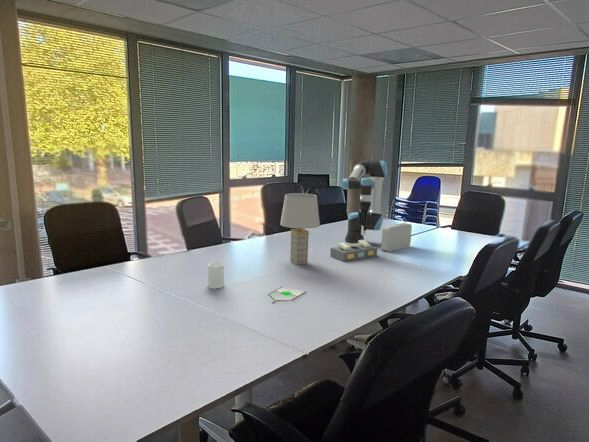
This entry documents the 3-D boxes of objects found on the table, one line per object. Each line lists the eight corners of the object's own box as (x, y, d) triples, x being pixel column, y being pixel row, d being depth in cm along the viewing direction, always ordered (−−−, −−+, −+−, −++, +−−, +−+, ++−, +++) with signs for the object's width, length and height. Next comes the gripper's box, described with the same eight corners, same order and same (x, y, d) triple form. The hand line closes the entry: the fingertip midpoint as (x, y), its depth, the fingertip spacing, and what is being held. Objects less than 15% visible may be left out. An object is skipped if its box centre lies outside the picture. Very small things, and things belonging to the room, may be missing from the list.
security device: (256, 301, 200) (256, 297, 199) (280, 288, 219) (280, 284, 219) (286, 309, 192) (286, 305, 191) (308, 295, 211) (308, 291, 210)
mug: (218, 280, 226) (218, 259, 224) (231, 283, 223) (231, 262, 220) (204, 287, 216) (204, 265, 214) (217, 290, 212) (217, 267, 210)
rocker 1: (337, 245, 280) (338, 242, 279) (342, 244, 282) (343, 242, 281) (345, 250, 274) (345, 248, 273) (350, 249, 276) (350, 247, 275)
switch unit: (330, 256, 282) (330, 246, 281) (363, 251, 298) (363, 242, 297) (343, 261, 270) (344, 251, 269) (377, 256, 286) (377, 246, 285)
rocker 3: (358, 242, 289) (358, 240, 289) (362, 241, 292) (363, 239, 291) (365, 247, 283) (365, 245, 283) (370, 246, 286) (370, 244, 285)
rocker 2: (348, 246, 285) (348, 244, 285) (353, 245, 287) (352, 243, 287) (355, 246, 278) (355, 243, 278) (360, 245, 280) (360, 243, 280)
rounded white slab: (402, 244, 321) (403, 222, 318) (410, 246, 315) (412, 223, 312) (378, 249, 303) (379, 225, 300) (386, 252, 298) (388, 227, 294)
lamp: (290, 270, 249) (292, 198, 241) (273, 259, 271) (274, 193, 263) (325, 265, 260) (328, 197, 252) (306, 255, 282) (308, 192, 274)
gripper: (354, 199, 283) (353, 233, 287) (367, 202, 272) (365, 237, 276) (363, 199, 286) (361, 232, 291) (376, 201, 275) (373, 236, 280)
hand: (363, 234), depth 283 cm, fingers closed
